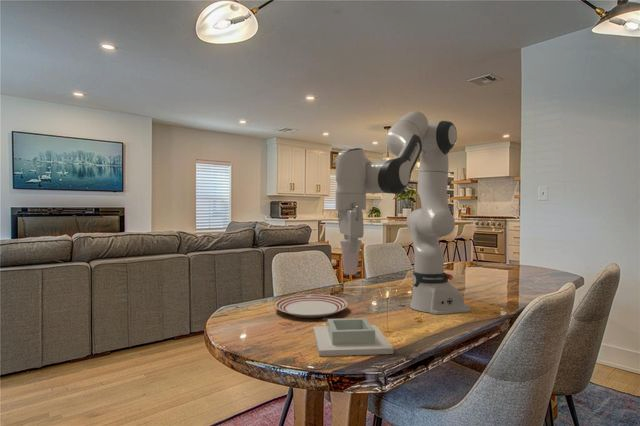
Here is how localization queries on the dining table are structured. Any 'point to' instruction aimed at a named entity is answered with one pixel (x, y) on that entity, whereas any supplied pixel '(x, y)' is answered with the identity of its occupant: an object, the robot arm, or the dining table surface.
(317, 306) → the dinner plate
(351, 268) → the smoothie
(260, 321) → the dining table surface
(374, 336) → the socket dock
